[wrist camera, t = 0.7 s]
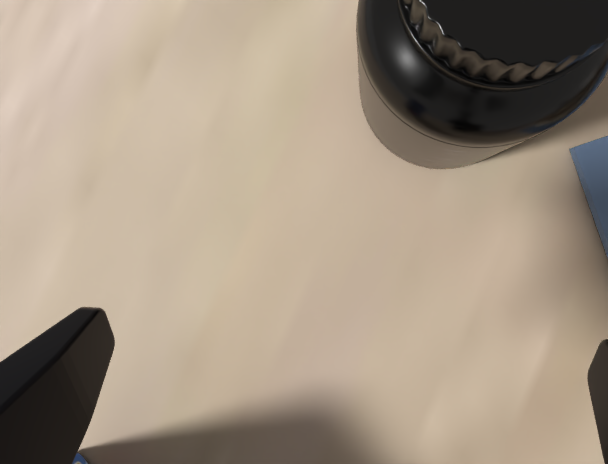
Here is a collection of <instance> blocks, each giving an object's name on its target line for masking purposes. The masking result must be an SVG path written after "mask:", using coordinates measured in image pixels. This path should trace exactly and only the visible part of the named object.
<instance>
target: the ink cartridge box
mask: <svg viewBox="0 0 608 464" xmlns="http://www.w3.org/2000/svg"><path fill="white" fill-rule="evenodd" d="M72 464H88V463H87V462H86V460H85V459H84V458H83V456H81V455H80V454H79V453H77V454H76V456H75V458H74V461H73V463H72Z"/></svg>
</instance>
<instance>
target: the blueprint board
mask: <svg viewBox="0 0 608 464" xmlns="http://www.w3.org/2000/svg"><path fill="white" fill-rule="evenodd" d="M569 150H570V153H571V156H572V159H573V161H574V164H575V167H576V170H577V173H578V176H579V178H580V181H581V184H582V187H583V190H584V193H585V196H586V198H587V201H588V204H589V207H590V210H591V213H592V215H593V218H594V221H595V224H596V227H597V230H598V232H599V235H600V238H601V241H602V244H603V247H604V250H605V252H606V255H607V258H608V136H606V137H603V138H600V139H597V140H594V141H591V142H588V143H585V144H582V145H579V146H576V147H573V148H571V149H569Z"/></svg>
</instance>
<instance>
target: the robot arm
mask: <svg viewBox="0 0 608 464" xmlns="http://www.w3.org/2000/svg"><path fill="white" fill-rule="evenodd" d="M114 345H115V340H114V335H113V332H112V330H111V327H110V324H109V321H108V318H107V315H106V313H105V311H104V310H103V309H101V308H94V307H81V308H79V309H77V310H76V311H74V312H73V313H71V314H70V315H68V316H67V317H65V318H64V319H62V320H61V321H60V322H58V323H57V324H55V325H54V326H52V327H51V328H49V329H48V330H46V331H45V332H43V333H42V334H41V335H39V336H38V337H36V338H35V339H33V340H32V341H30V342H29V343H27V344H26V345H25V346H23V347H22V348H20V349H19V350H17V351H16V352H14V353H13V354H11V355H10V356H8V357H7V358H6V359H4V360H3V361H1V362H0V464H72V463H73V461H74V458H75V456H76V454H77V452H78V449H79V447H80V445H81V443H82V440H83V438H84V436H85V433H86V431H87V429H88V426H89V424H90V421H91V418H92V416H93V413H94V410H95V407H96V404H97V400H98V397H99V394H100V391H101V388H102V385H103V382H104V379H105V375H106V372H107V369H108V366H109V363H110V360H111V357H112V354H113V350H114ZM588 386H589V391H590V396H591V401H592V406H593V410H594V415H595V420H596V425H597V430H598V434H599V439H600V444H601V449H602V454H603V458H604V462H605V464H608V339H605V340H603V341H602V342H601V343H600V345H599V347H598V349H597V351H596V354H595V356H594V358H593V361H592V363H591V365H590V368H589V370H588Z"/></svg>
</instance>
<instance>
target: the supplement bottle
mask: <svg viewBox="0 0 608 464" xmlns="http://www.w3.org/2000/svg"><path fill="white" fill-rule="evenodd" d="M356 32H357V52H358V71H359V88H360V98H361V103H362V108H363V111H364V115H365V117H366V120H367V122H368V124H369V126H370V128H371V130H372V131H373V133H374V134H375V136H376V137H377V138H378V139H379V141H380V142H381V143H382V144H383V145H384V146H385V147H386V148H387V149H388V150H390V151H391V152H392V153H393V154H395V155H396V156H398V157H399V158H401V159H403V160H405V161H407V162H409V163H412V164H415V165H418V166H421V167H426V168H433V169H452V168H459V167H464V166H467V165H471V164H473V163H476V162H479V161H481V160H484V159H486V158H488V157H491V156H493V155H495V154H497V153H499V152H502V151H504V150H506V149H508V148H510V147H513V146H515V145H517V144H519V143H522V142H524V141H526V140H528V139H530V138H533V137H535V136H537V135H539V134H541V133H543V132H545V131H547V130H548V129H550V128H552V127H553V126H555V125H556V124H558V123H560V122H561V121H563V120H564V119H565V118H567V117H568V116H569V115H571V114H572V113H573V112H575V111H576V110H577V109H578V108H579V107H580V106H581V105H582V104H583V103H585V102H586V100H587V99H588V98H589V97H590V96H591V95H592V94H593V93H594V91H595V90H596V89H597V87H598V86H599V85H600V83H601V82H602V81H603V79H604V77H605V76H606V74H607V72H608V0H359V2H358V10H357V26H356Z"/></svg>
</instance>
